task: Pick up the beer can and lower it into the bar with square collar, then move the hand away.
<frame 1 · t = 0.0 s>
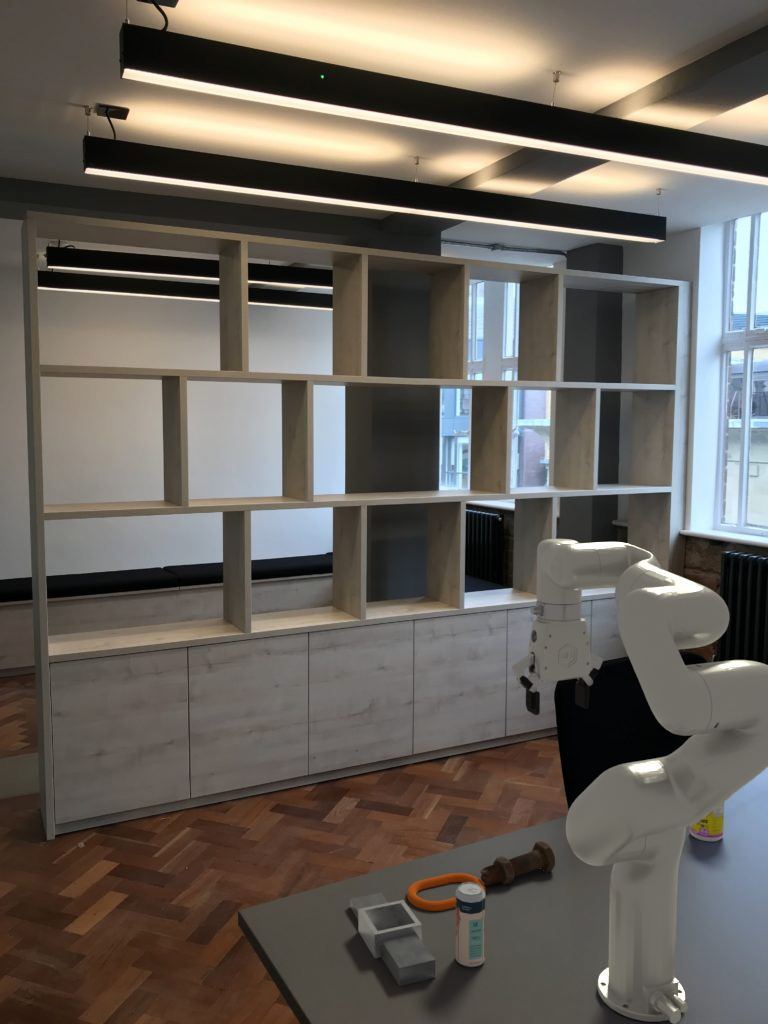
hand: (557, 709, 148), 37 cm above the table, tool pointing down, fingers open, 9 cm apart
bolt: (515, 878, 164), on the table
bar with square collar: (389, 939, 143), on the table
supplement bottle: (706, 836, 181), on the table
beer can: (470, 961, 137), on the table
metal ring: (446, 897, 158), on the table
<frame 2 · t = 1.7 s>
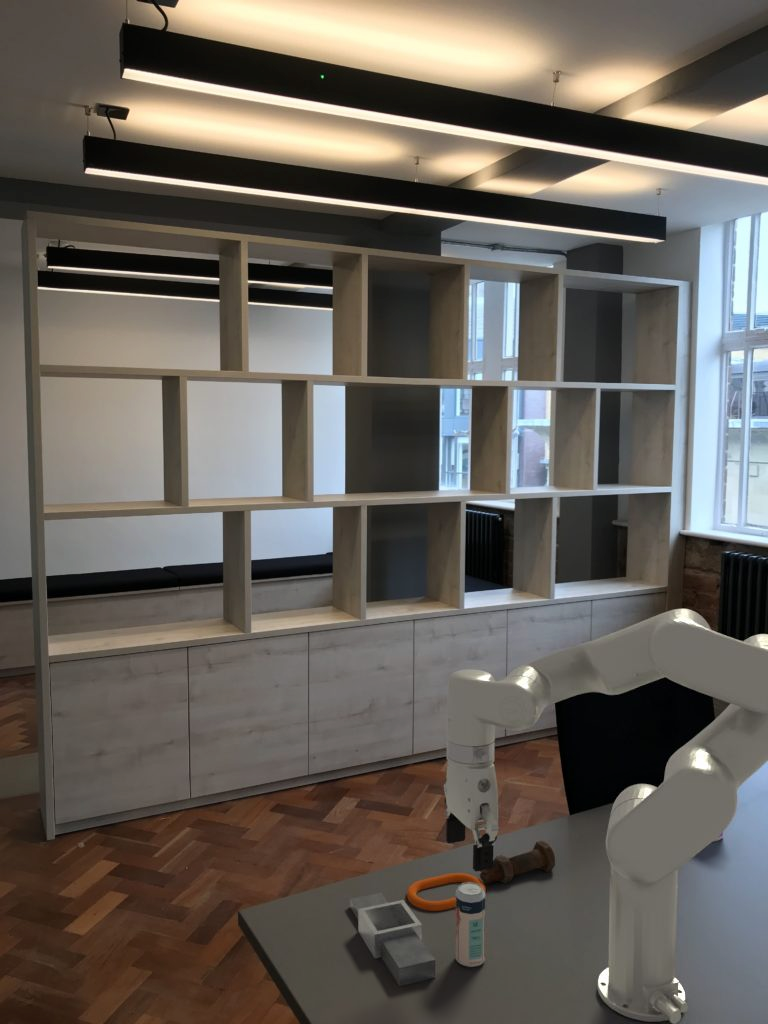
hand: (468, 854, 136), 17 cm above the table, tool pointing down, fingers open, 9 cm apart
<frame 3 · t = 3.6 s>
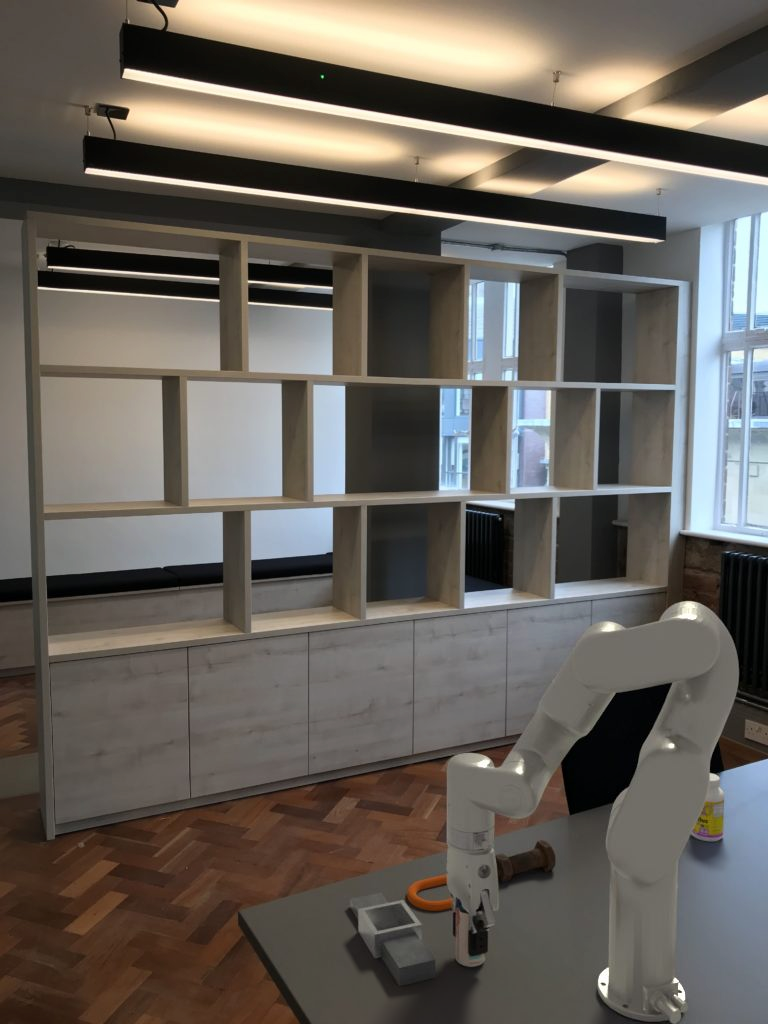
hand: (470, 942, 137), 3 cm above the table, tool pointing down, fingers closed on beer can, 4 cm apart
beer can: (470, 961, 137), on the table, touching gripper
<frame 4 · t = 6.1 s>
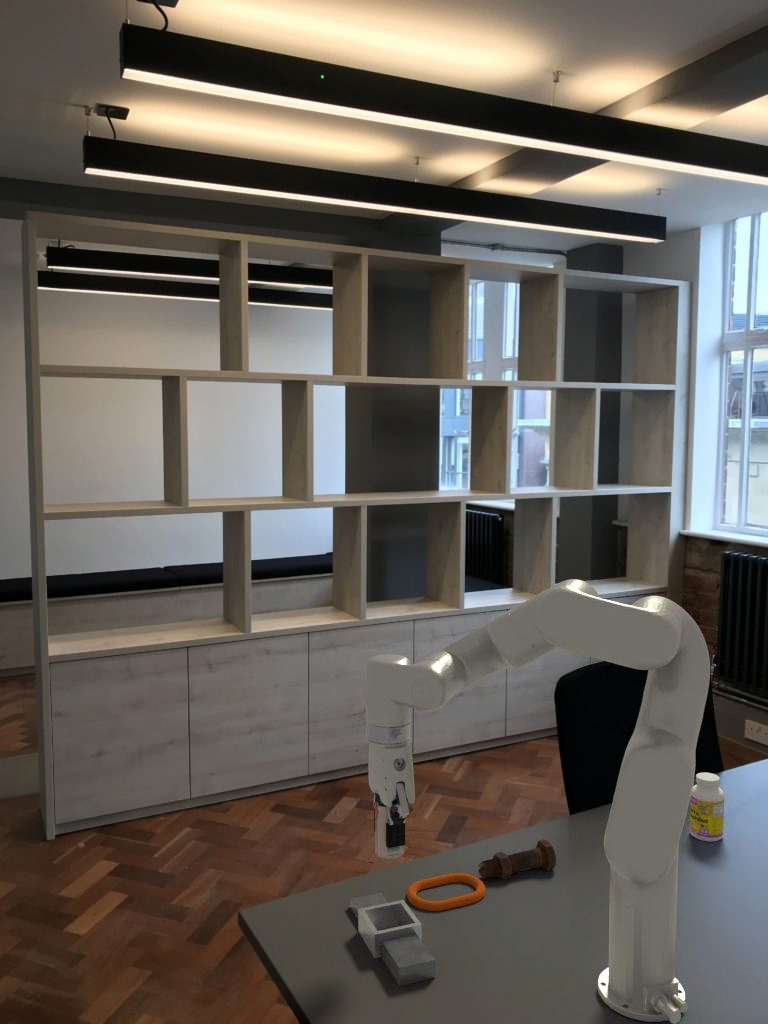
hand: (389, 837, 142), 18 cm above the table, tool pointing down, fingers closed on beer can, 4 cm apart
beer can: (389, 855, 142), point 15 cm above the table, touching gripper
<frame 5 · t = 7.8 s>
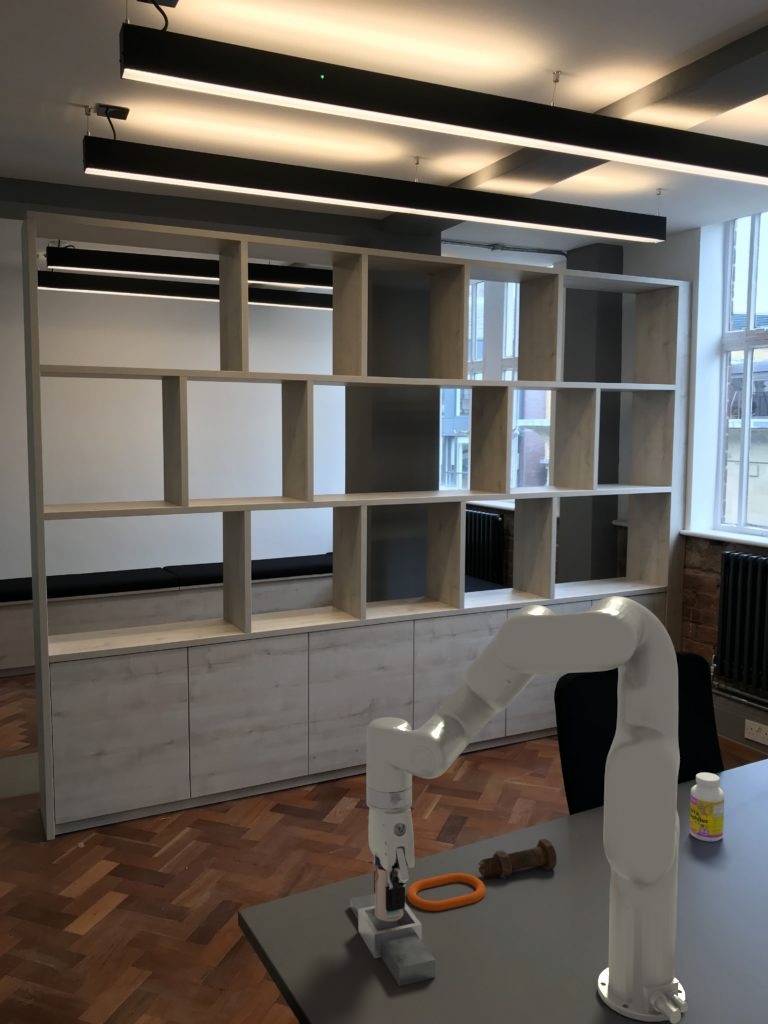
hand: (389, 899, 143), 7 cm above the table, tool pointing down, fingers closed on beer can, 4 cm apart
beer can: (389, 917, 143), point 4 cm above the table, touching gripper
when the fingers open (5 cm above the table, at t = 8.6 s): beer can drops 2 cm, resting in bar with square collar.
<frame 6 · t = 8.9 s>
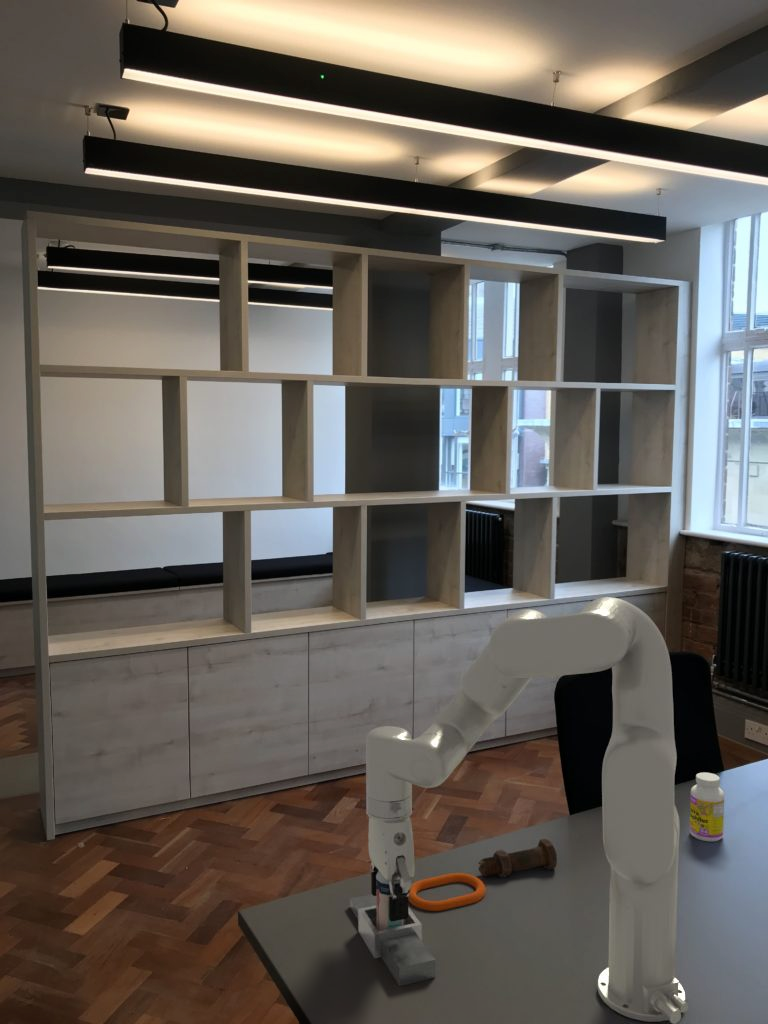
hand: (389, 905, 143), 6 cm above the table, tool pointing down, fingers open, 7 cm apart
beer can: (390, 941, 143), resting in bar with square collar
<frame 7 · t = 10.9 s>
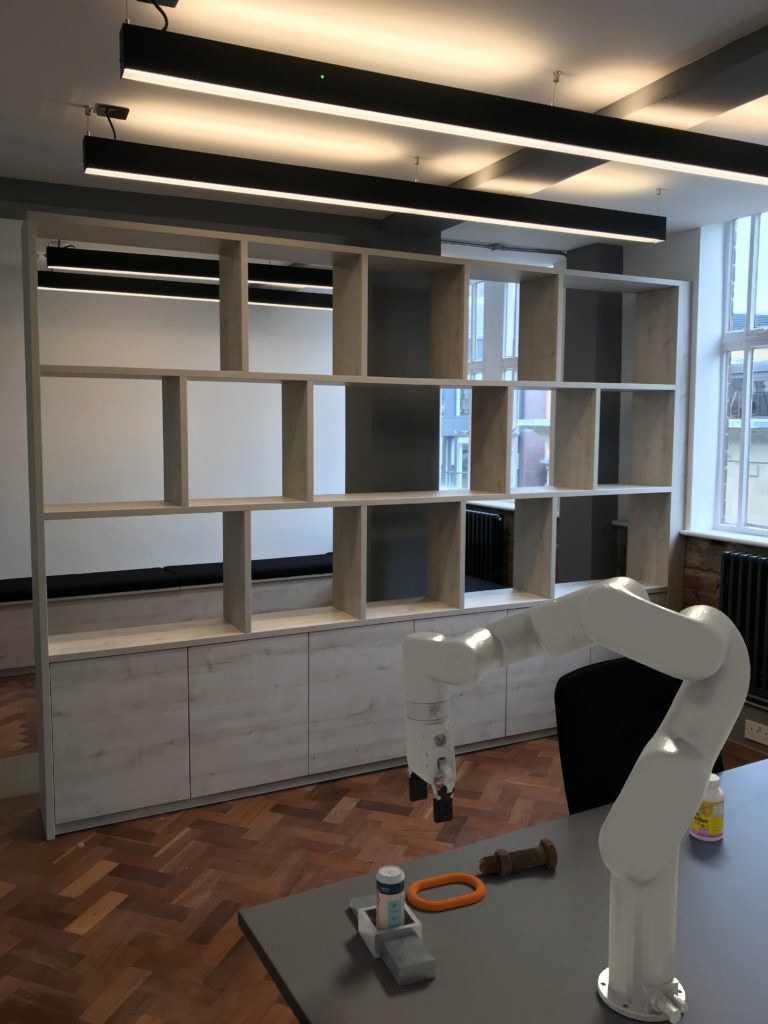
hand: (430, 810, 142), 22 cm above the table, tool pointing down, fingers open, 9 cm apart
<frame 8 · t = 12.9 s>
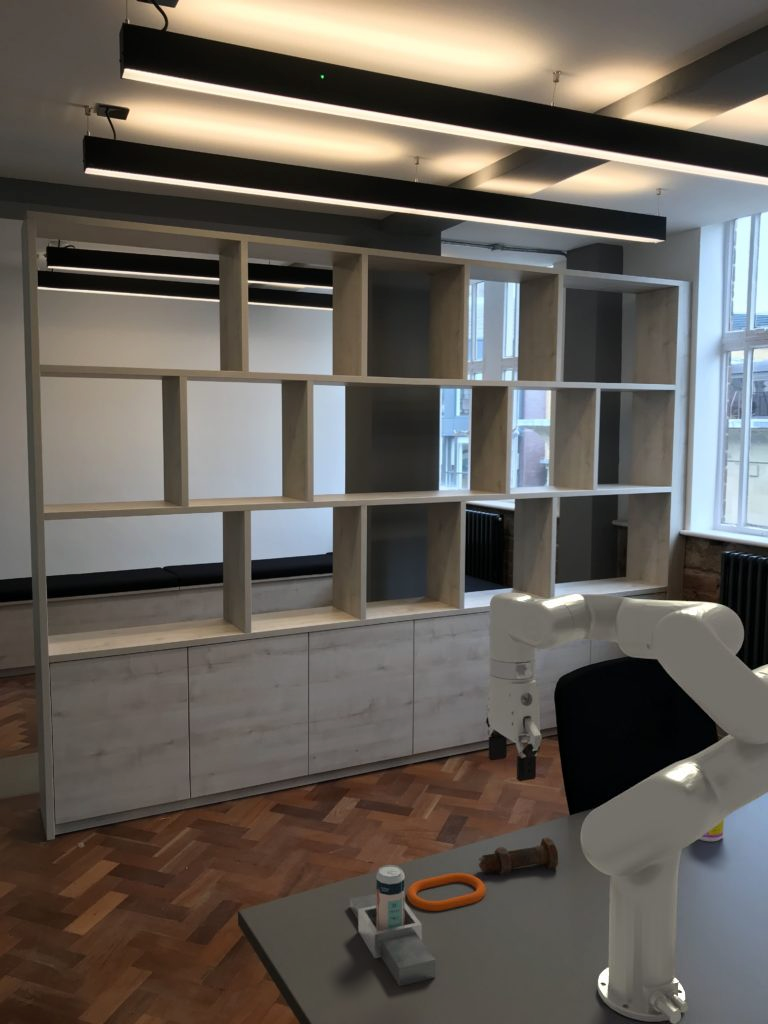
hand: (511, 768, 143), 28 cm above the table, tool pointing down, fingers open, 9 cm apart
at the end: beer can 0.2 cm from the bar with square collar (horizontally); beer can resting in bar with square collar; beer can tilted 0° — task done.
